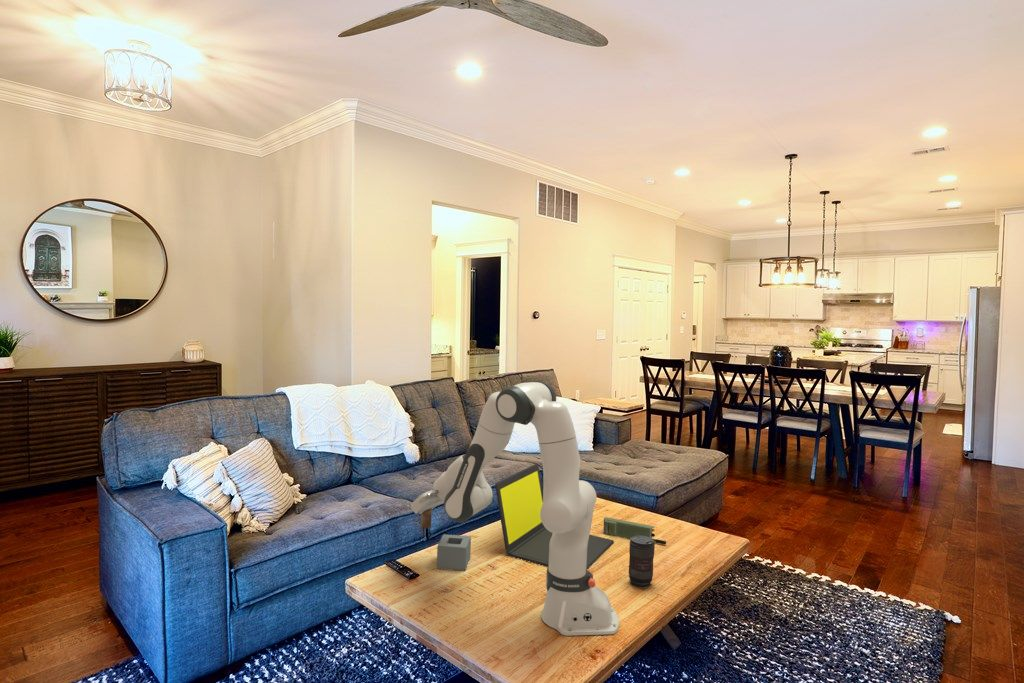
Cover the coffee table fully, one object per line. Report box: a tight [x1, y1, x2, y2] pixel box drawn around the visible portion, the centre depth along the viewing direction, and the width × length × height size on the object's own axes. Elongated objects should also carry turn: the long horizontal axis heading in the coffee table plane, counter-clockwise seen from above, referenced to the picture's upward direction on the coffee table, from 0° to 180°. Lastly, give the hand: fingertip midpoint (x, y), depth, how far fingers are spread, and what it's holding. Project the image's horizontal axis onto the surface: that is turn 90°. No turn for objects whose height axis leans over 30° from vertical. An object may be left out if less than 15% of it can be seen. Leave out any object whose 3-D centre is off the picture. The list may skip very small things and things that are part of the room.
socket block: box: [436, 534, 472, 572], centre depth 199 cm, size 10×10×8 cm
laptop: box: [494, 463, 615, 570], centre depth 214 cm, size 33×35×26 cm
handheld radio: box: [602, 516, 667, 545], centre depth 225 cm, size 7×3×25 cm
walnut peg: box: [420, 508, 432, 530], centre depth 197 cm, size 4×4×10 cm
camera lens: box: [628, 535, 656, 589], centre depth 188 cm, size 8×8×15 cm
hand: (425, 509), depth 197 cm, fingers closed on walnut peg, 3 cm apart
